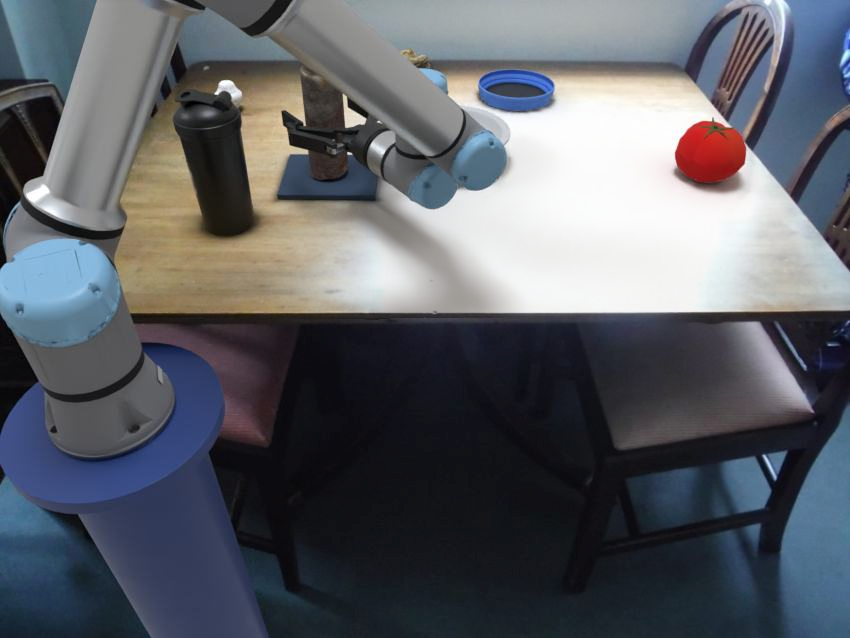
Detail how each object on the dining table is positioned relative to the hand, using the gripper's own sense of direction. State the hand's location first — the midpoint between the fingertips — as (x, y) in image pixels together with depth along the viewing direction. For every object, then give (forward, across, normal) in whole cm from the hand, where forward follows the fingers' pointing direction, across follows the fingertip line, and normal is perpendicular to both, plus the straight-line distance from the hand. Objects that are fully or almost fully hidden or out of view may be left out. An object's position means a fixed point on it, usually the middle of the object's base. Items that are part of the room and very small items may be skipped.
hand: (317, 108), depth 120 cm
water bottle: (-5, -22, -14) cm, 27 cm away
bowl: (+5, +56, -13) cm, 58 cm away
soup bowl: (-10, +23, -13) cm, 29 cm away
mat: (-2, 0, -13) cm, 14 cm away
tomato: (-45, +60, -13) cm, 76 cm away
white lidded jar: (+38, -2, -14) cm, 40 cm away
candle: (-2, 0, -12) cm, 13 cm away
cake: (+35, +47, -13) cm, 60 cm away
